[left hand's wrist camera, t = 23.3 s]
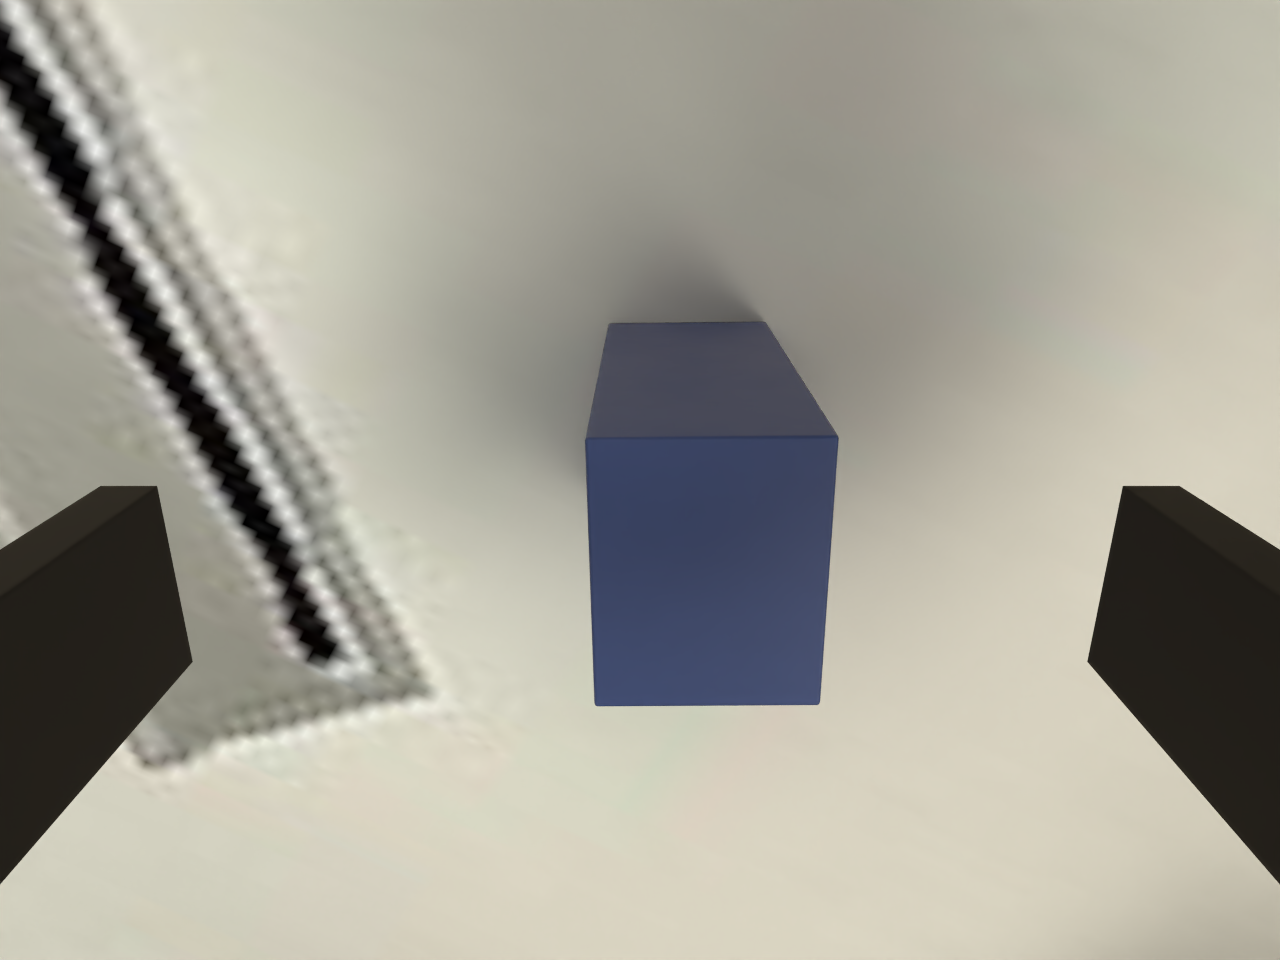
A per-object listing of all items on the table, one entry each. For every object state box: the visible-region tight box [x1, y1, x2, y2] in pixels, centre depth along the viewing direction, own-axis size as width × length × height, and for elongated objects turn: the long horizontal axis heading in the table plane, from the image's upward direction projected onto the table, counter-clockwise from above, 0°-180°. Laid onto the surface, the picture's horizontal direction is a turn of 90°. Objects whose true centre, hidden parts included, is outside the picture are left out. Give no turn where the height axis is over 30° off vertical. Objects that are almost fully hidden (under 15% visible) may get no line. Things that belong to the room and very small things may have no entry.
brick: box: [585, 322, 838, 706], centre depth 24 cm, size 5×6×12 cm
